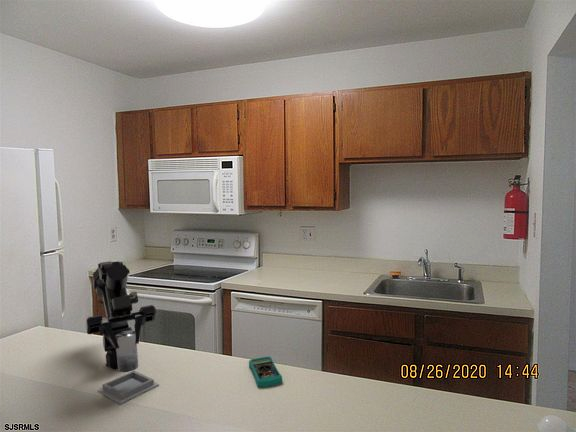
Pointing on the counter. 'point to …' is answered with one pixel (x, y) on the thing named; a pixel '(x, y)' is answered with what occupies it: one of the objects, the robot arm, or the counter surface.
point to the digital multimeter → (265, 372)
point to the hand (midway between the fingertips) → (127, 345)
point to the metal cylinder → (126, 351)
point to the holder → (127, 387)
